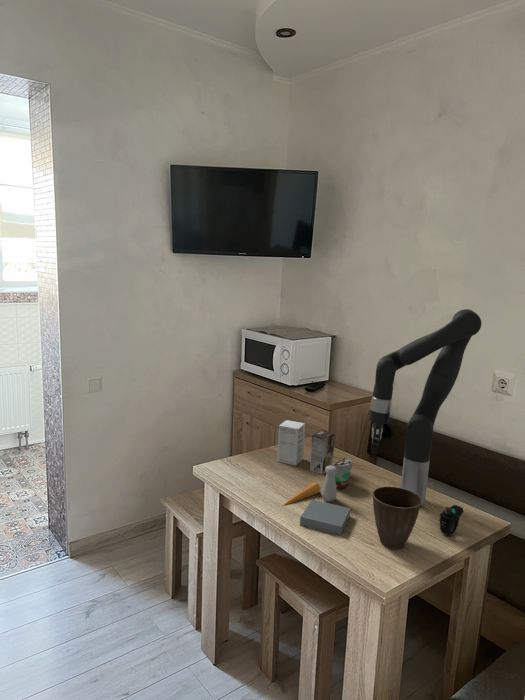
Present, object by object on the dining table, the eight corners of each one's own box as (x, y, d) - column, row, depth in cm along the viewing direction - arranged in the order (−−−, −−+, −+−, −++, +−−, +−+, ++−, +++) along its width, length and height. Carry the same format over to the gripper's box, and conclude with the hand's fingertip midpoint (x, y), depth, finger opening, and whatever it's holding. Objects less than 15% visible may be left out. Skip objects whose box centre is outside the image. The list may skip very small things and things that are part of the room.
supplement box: (303, 459, 229) (306, 423, 226) (296, 466, 220) (299, 428, 217) (283, 454, 232) (286, 419, 229) (276, 461, 224) (278, 424, 221)
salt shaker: (326, 504, 187) (329, 470, 185) (317, 497, 192) (320, 465, 190) (339, 501, 190) (342, 468, 187) (330, 494, 195) (333, 462, 192)
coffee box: (319, 464, 224) (322, 429, 221) (332, 468, 220) (335, 432, 217) (309, 470, 216) (311, 434, 214) (322, 474, 213) (325, 438, 210)
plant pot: (358, 538, 165) (362, 492, 162) (389, 526, 173) (394, 482, 171) (394, 561, 153) (399, 512, 150) (425, 547, 162) (431, 500, 159)
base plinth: (349, 516, 179) (350, 508, 178) (340, 535, 166) (341, 526, 166) (311, 507, 184) (312, 499, 183) (299, 525, 171) (300, 516, 171)
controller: (435, 536, 169) (438, 508, 167) (450, 524, 178) (453, 497, 176) (447, 542, 166) (451, 513, 164) (462, 528, 175) (466, 501, 173)
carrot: (315, 492, 198) (312, 481, 199) (323, 492, 195) (320, 480, 195) (279, 512, 185) (275, 500, 185) (287, 512, 182) (283, 500, 182)
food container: (341, 493, 196) (343, 469, 195) (327, 488, 200) (329, 464, 198) (356, 483, 206) (358, 460, 204) (342, 479, 210) (344, 456, 208)
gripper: (390, 416, 183) (384, 458, 186) (390, 405, 197) (384, 445, 200) (369, 412, 185) (363, 454, 188) (370, 402, 199) (364, 441, 202)
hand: (374, 449), depth 194 cm, fingers open, 8 cm apart
